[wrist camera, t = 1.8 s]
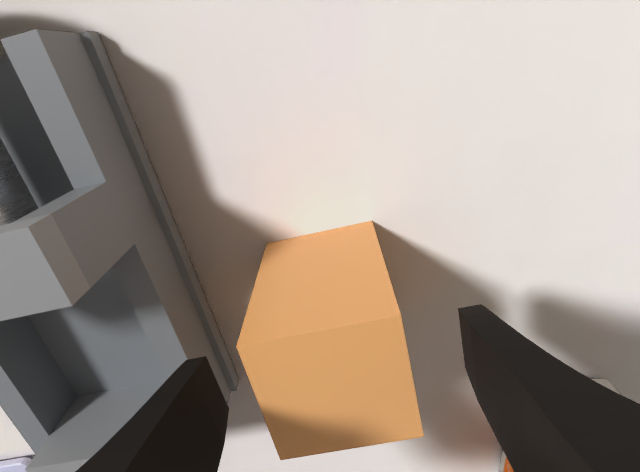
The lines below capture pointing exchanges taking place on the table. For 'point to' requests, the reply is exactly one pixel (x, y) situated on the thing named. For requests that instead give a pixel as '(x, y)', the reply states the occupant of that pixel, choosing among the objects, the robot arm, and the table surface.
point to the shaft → (13, 190)
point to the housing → (88, 258)
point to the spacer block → (328, 345)
